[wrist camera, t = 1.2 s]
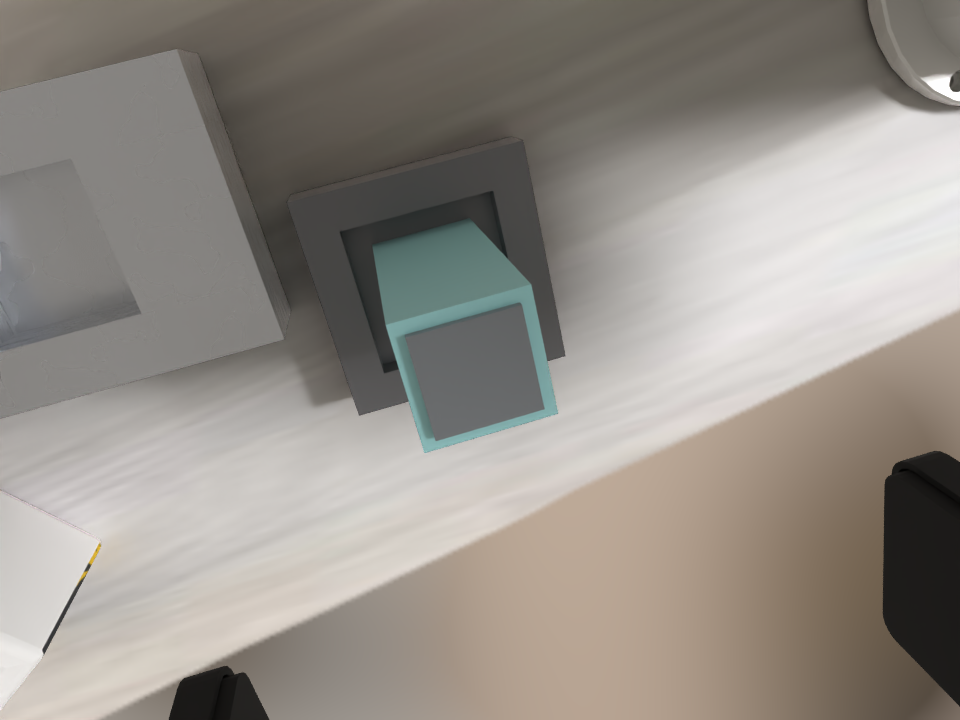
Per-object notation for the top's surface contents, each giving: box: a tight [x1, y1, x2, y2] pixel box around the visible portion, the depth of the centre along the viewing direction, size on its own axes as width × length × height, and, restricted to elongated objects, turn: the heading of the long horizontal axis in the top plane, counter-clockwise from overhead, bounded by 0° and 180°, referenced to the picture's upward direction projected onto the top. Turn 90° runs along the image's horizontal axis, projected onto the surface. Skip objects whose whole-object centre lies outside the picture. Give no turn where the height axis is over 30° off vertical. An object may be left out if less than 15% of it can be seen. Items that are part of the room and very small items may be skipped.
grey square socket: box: [287, 137, 565, 416], centre depth 28 cm, size 9×9×2 cm
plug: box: [372, 218, 558, 453], centre depth 24 cm, size 4×4×10 cm
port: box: [0, 49, 291, 419], centre depth 25 cm, size 14×10×4 cm
